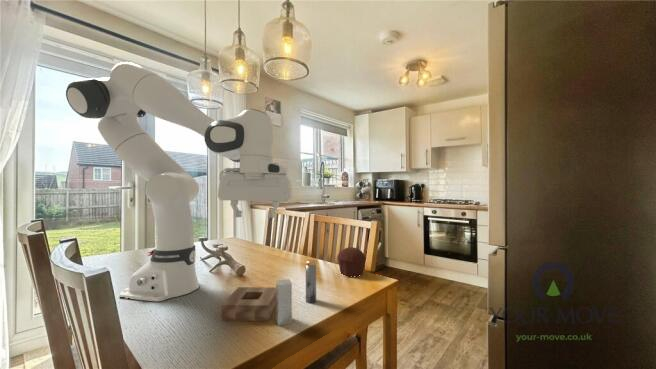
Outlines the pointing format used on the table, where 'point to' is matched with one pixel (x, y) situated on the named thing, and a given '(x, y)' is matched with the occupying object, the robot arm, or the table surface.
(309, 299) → the round bit
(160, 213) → the robot arm
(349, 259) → the muffin
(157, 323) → the table surface
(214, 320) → the table surface
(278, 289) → the square bit
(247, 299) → the socket block
